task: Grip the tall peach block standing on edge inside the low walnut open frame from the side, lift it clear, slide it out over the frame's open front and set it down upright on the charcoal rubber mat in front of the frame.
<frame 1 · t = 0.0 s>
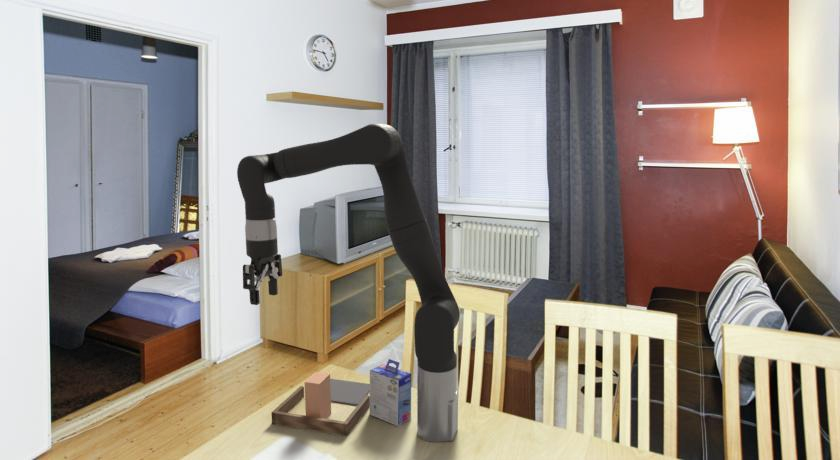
hand: (264, 299, 140), 29 cm above the table, tool pointing down, fingers open, 8 cm apart
charcoal mat: (343, 392, 154), on the table
walnut open frame: (322, 414, 142), on the table
tall peach block: (318, 418, 140), on the table
ink cartridge box: (390, 417, 141), on the table
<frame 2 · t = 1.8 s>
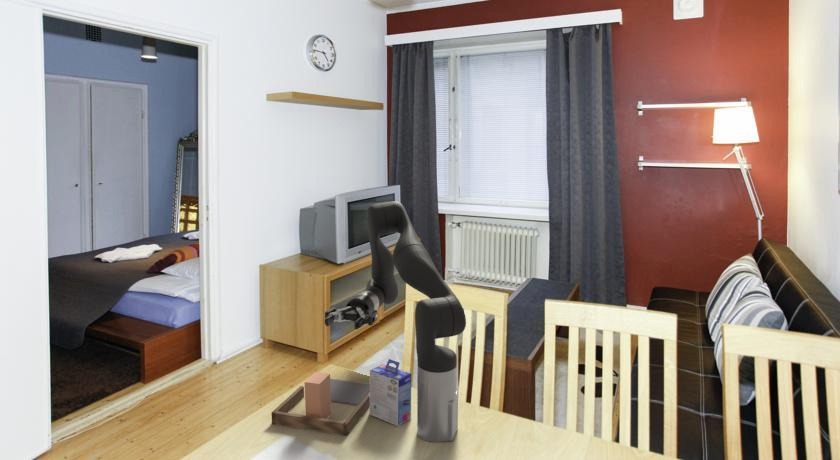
hand: (341, 324, 150), 20 cm above the table, tool horizontal, fingers open, 8 cm apart
nothing on the table moved.
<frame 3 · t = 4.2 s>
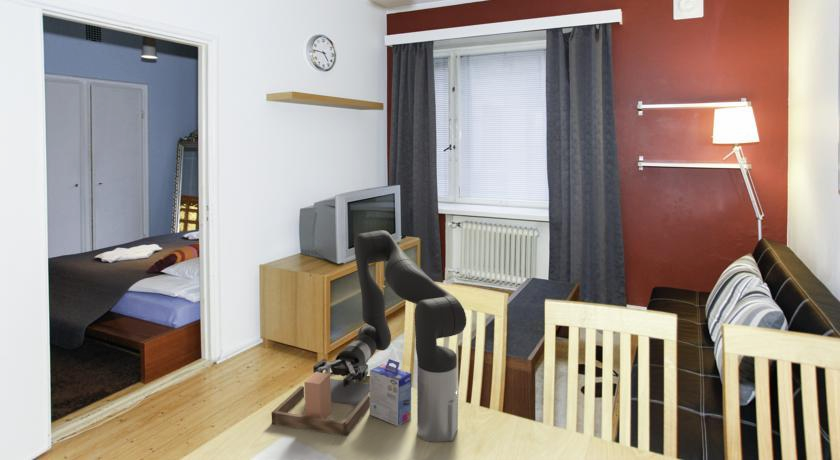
hand: (329, 381, 145), 7 cm above the table, tool horizontal, fingers open, 8 cm apart
nothing on the table moved.
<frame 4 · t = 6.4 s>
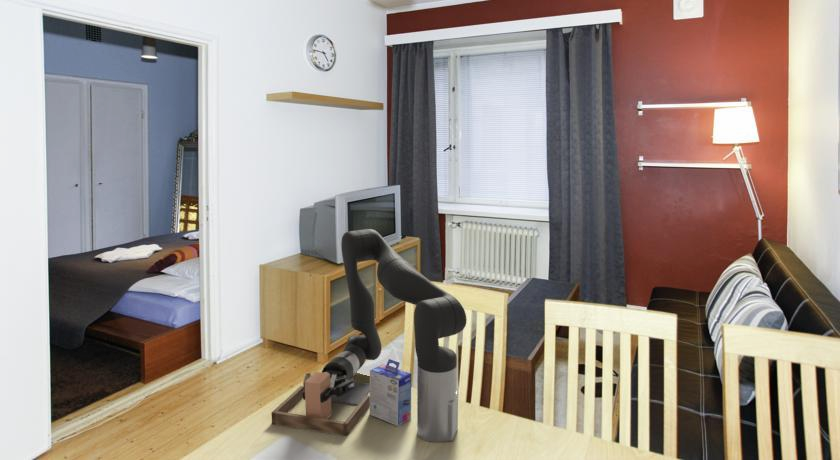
hand: (313, 397, 136), 7 cm above the table, tool horizontal, fingers closed on tall peach block, 4 cm apart
tall peach block: (318, 418, 140), on the table, touching gripper
everything else where it was.
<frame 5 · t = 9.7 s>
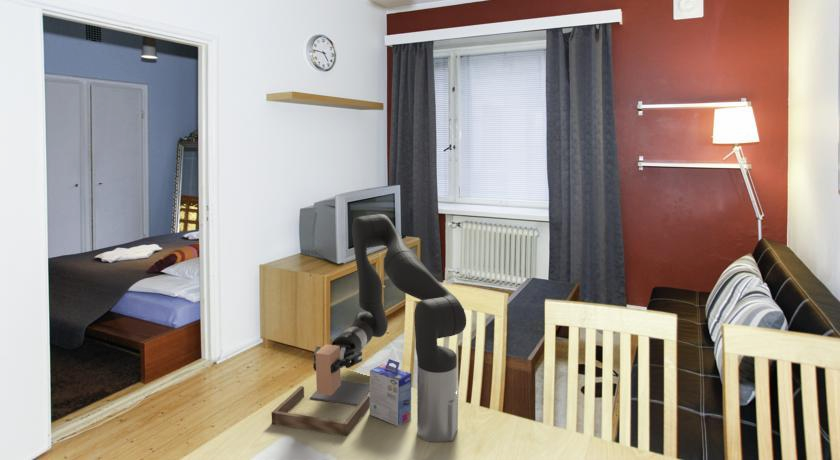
hand: (323, 368, 141), 12 cm above the table, tool horizontal, fingers closed on tall peach block, 4 cm apart
tall peach block: (329, 389, 145), point 5 cm above the table, touching gripper
everything else where it was.
when the fingers open (8 cm above the table, at t = 13.1 s): tall peach block stays where it is, resting on charcoal mat.
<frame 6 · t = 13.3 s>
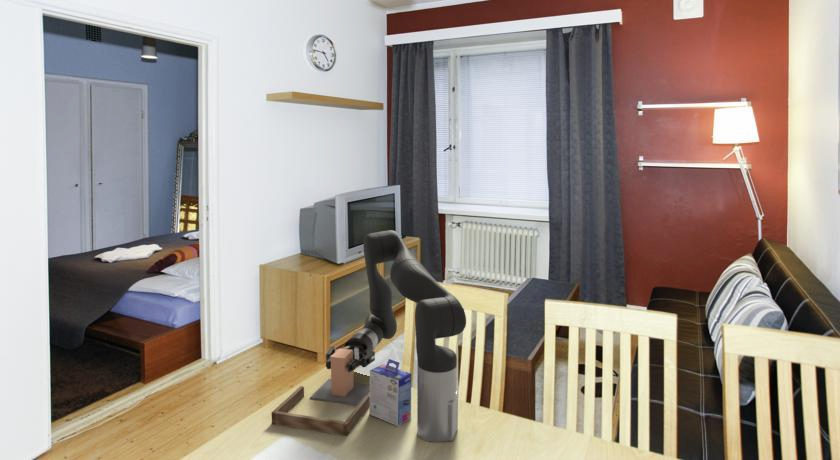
hand: (338, 367, 150), 8 cm above the table, tool horizontal, fingers open, 5 cm apart
tall peach block: (342, 390, 154), resting on charcoal mat
everything else where it was.
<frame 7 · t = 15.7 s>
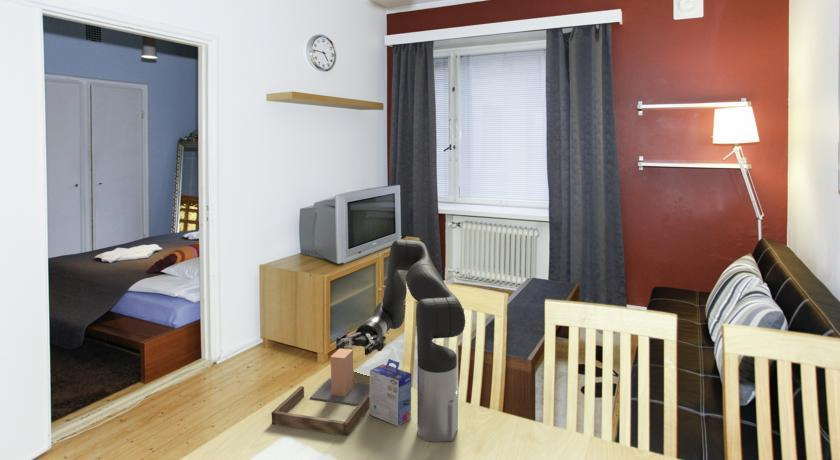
hand: (351, 350, 159), 9 cm above the table, tool horizontal, fingers open, 8 cm apart
nothing on the table moved.
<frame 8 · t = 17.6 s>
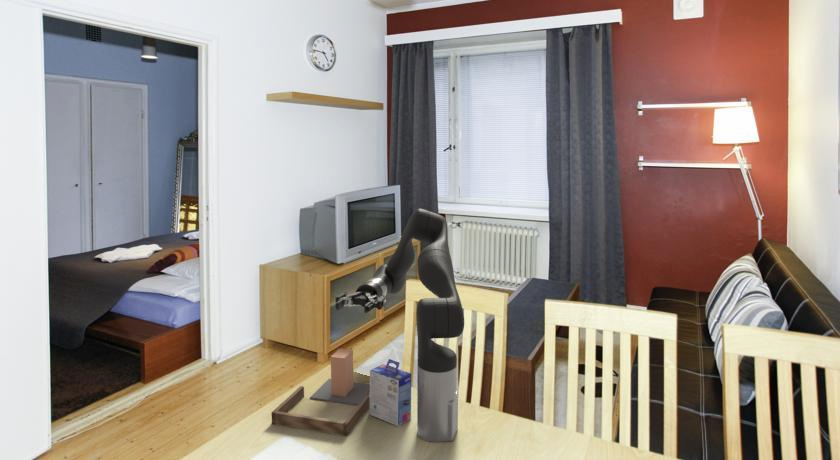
hand: (351, 308, 157), 22 cm above the table, tool horizontal, fingers open, 8 cm apart
nothing on the table moved.
at the end: tall peach block inside the target area (0.0 cm from its centre), resting on charcoal mat; tall peach block tilted 0°; the gripper is holding nothing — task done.
